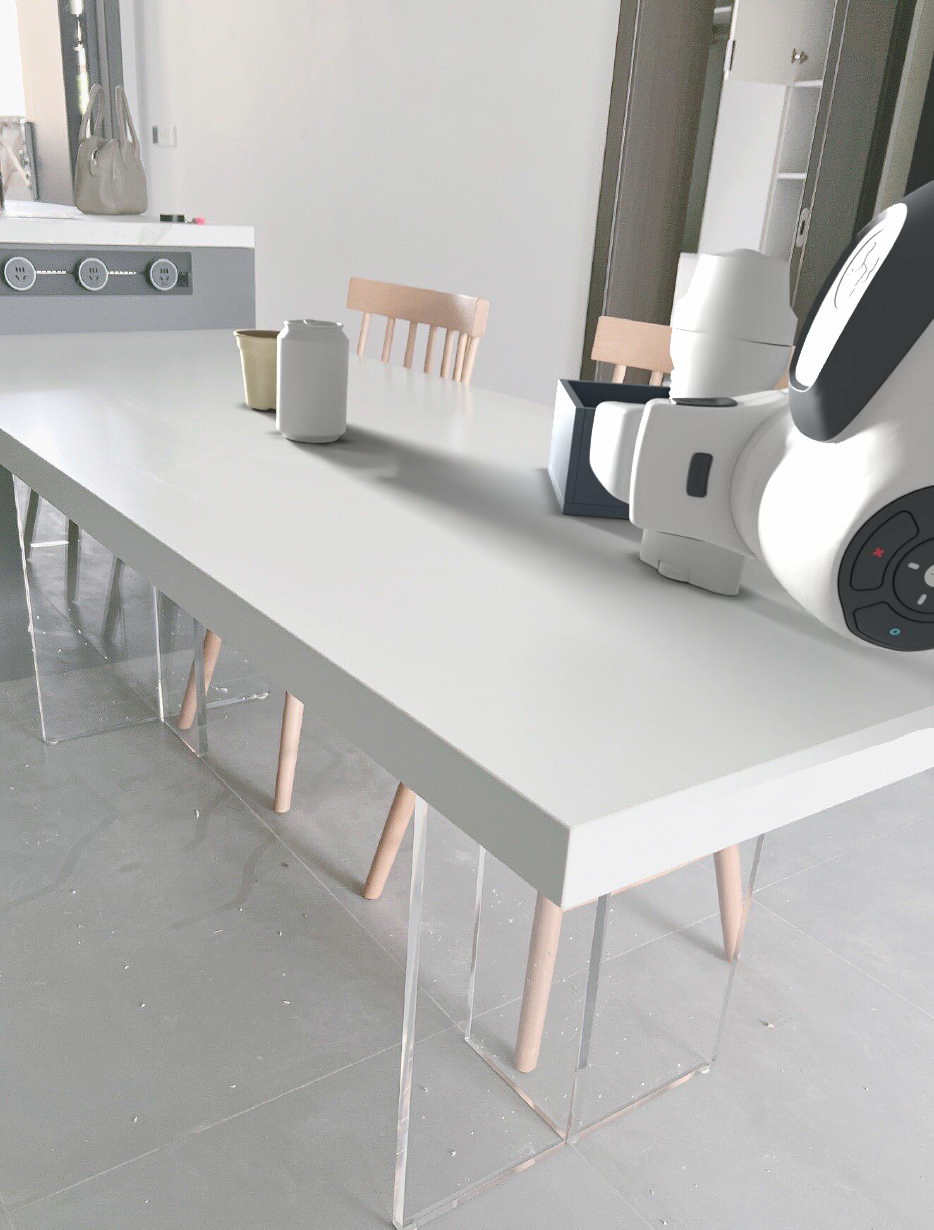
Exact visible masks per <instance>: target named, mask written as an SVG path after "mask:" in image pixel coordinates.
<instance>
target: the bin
mask: <svg viewBox="0 0 934 1230" xmlns="http://www.w3.org/2000/svg"><path fill="white" fill-rule="evenodd" d="M670 391H671V388H670V386H665V385H653V384H639V383H638V384H637V383H624V382H610V381H598V380H597V381H596V380H584V379H583V380H582V379H569V378H568V379H566V378H558V381H557V388H556V395H555V404H554V405H555V406H554V414H553V422H552V431H551V438H550V440H551V441H550V448H549V454H548V455H549V456H548V464H547V472H548V475H549V479H550V480H551V484H552V487H553V490H554V493H555V496H556V499H557V501H558V505H559V507H560V510H561V514H562V515H569V516H580V517H581V516H583V517H595V518H609V519H611V518H612V519H623V520H624V519H625V520H630V518H629V503H626V502H623V501H621V500H619V499H617V498H616V497H614V496H613V495H612V494H610V493H609V492H608V491H607V490H606V489H605V487H604V486H603V485H602V484H601V482H600V481H599V480H598V478H597V477H596V475H595V473H594V472H593V470H592V467H591V464H590V449H591V439H592V431H593V425H594V418H595V413H596V409H597V407H598V405H599V404H601V403H603V402H609V401H615V402H623V403H633V404H647V402H649V401H650V400H652V399H656V398H664V399H669V398H670V394H669V392H670Z"/></svg>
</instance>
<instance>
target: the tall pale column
mask: <svg viewBox="0 0 934 1230" xmlns="http://www.w3.org/2000/svg"><path fill="white" fill-rule="evenodd" d="M790 275H791V261H786V260H780V259H778V258H775V257H772V256H770V255H767V254H765V253H763V252H760V251H758V250H755V249H750V248H733V249H730V250H729V249H728V250H725V251H720V252H715V253H709V254H704V253H702V254H700V257H699V259H698V262H697V266H696V269H695V272H694V275H693V277H692V280H691V283H690V286H689V289H688V291H687V293H686V294H685V295H684V296H683V297H682V298H681V299H680V300H679V301H677V303H676V306H675V307H676V308H675V313H674V319H673V325H672V326H673V327H672V331H671V337H670V338H671V339H670V349H669V354H670V357H671V360H672V364H673V368H674V369H673V370H671V372H670V380H671V383H670V384H669V387H670V388H671V391H670V392H669V394H670V398H669V399H672V398H714V397H728V398H729V397H737V396H742V395H748V394H753V393H758V392H763V391H770V390H776V389H775V387H776V385H777V384H778V383H779V382H780V381H781V380H782V378H783V377H784V376H785V375H786V374H787V370H788V368H789V365H790V364H789V363H790V361H791V358H792V357H791V356H792V351H793V346H794V341H795V337H796V331H797V327H798V326H797V325H798V321H799V319H798V317H797V315H796V313H795V312H794V311H793V309H792V307H791V306H790V305H791V304H790V303H791V302H790V301H791V299H790V298H791V297H790V296H791V295H790V294H791V293H790V290H791V289H790V287H791V286H790V285H791V284H790V283H791V282H790V281H791V280H790V277H791V276H790ZM639 551H640V552H639V555H638V556H639V560H640V561H642V562H644V563H645V564H647V565H648V566H651V567H652V568H654V569H656V570H658V573H659V574H660V575H662V576H663V577H666V578H669V579H671V580H675V581H679V582H684V583H685V582H687V583H688V584H690V585H693V586H696V587H699V588H702V589H704V590H707V591H710V592H712V593H716V594H720V595H725V596H737V595H738V594H739V590H740V585H741V580H742V576H743V575H742V574H743V570H744V566H745V565H744V564H745V561H746V556H744V555H741V554H739V553H736V552H734V551H731V550H729V549H726V548H724V547H721V546H718V545H715V544H712V543H709V542H704V541H698V540H694V539H689V538H685V537H680V536H675V535H670V534H664V533H660V532H657V531H652V530H646V529H643V532H642V537H641V544H640V549H639Z"/></svg>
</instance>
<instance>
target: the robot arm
mask: <svg viewBox="0 0 934 1230" xmlns="http://www.w3.org/2000/svg"><path fill="white" fill-rule="evenodd" d="M791 356H792V357H791V358H790V362H789V363H790V364H789V366H788V374H787V375H788V380H787V381H788V382H787V385H788V387H785V388H782V389H775V390H770V391H763V392H758V393H753V394H748V395H742V396H737V397H729V398H728V397H714V398H672V399H664V398H656V399H652V400H650V401H649V402H647V404H633V403H623V402H615V401H609V402H603V403H601V404H599V405H598V407H597V409H596V413H595V418H594V425H593V431H592V439H591V449H590V464H591V467H592V470H593V472H594V473H595V475H596V477H597V478H598V480H599V481H600V482H601V484H602V485H603V486H604V487H605V489H606V490H607V491H608V492H609V493H610V494H612V495H613V496H614V497H616V498H617V499H619V500H621V501H623V502H626V503H629V518H630V519H629V521H630V522H631V523H632V525H633V526H635V527H637V528H639V529H642V530H644V529H646V530H652V531H657V532H660V533H664V534H670V535H675V536H680V537H685V538H689V539H694V540H698V541H704V542H709V543H712V544H715V545H718V546H721V547H724V548H726V549H729V550H731V551H734V552H736V553H739V554H741V555H744V556H745V557H747V558H750V559H752V560H759V561H760V562H761V563H762V564H764V565H765V566H767V568H768V569H769V571H770V573H771V574H772V575H773V577H774V578H775V579H776V581H777V583H779V584H780V586H781V587H782V588H783V589H784V590H785V591H786V592H787V593H788V595H790V596H791V597H792V599H794V600H795V601H796V602H797V603H798V604H799V605H800V606H801V607H802V608H804V609H805V610H806V611H807V612H808V613H809V614H810V615H812V616H813V617H814V618H815V619H817V620H818V621H819V622H820V623H822V624H823V625H824V626H825V627H827V628H829V629H830V630H831V631H834V632H835V633H837V634H838V635H839V636H841V637H843V638H846V639H848V640H850V641H852V642H854V643H855V644H859V645H861V646H864V647H867V648H868V647H869V648H872V649H876V650H881V651H887V652H894V653H895V652H896V653H920V652H928V651H934V179H933V180H930V181H929V182H927V183H924V185H921V186H920V187H919V188H917V189H915V190H914V191H912V192H910V193H908V194H907V195H905V196H903V197H902V198H901V199H898V201H896V202H895V203H893V204H892V205H890V206H889V207H887V208H886V209H884V210H883V211H881V212H880V213H878V214H877V215H876V216H875V217H874V218H873V219H871V220H870V221H869V222H868V223H867V224H866V225H865V226H864V227H863V228H862V229H861V230H860V231H859V232H858V233H857V234H856V235H855V236H854V238H853V239H852V240H851V241H850V242H849V244H848V245H847V246H846V247H845V248H844V250H843V251H842V253H841V254H840V255H839V257H838V258H837V260H836V262H835V263H834V265H833V267H832V268H831V270H830V272H829V273H828V274H827V277H826V279H825V280H824V282H823V284H822V285H821V287H820V289H819V290H818V292H817V294H816V296H815V298H814V300H813V302H812V304H811V306H810V308H809V311H808V313H807V315H806V317H805V320H804V323H803V325H802V327H801V329H800V333H799V336H798V338H797V341H796V344H795V347H794V350H793V353H792V355H791Z"/></svg>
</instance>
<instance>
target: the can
mask: <svg viewBox="0 0 934 1230" xmlns="http://www.w3.org/2000/svg"><path fill="white" fill-rule="evenodd" d="M283 324H284V328H283V329H282V330H281V331H282V332H281V333H280V334H279V335H278V352H277V410H276V429H277V430H278V431H279V432H280V433H281V434H282V435H283V437H284V438H285V439H287V440H289V441H290V440H291V441H295V442H300V443H311V444H312V443H315V444H323V443H324V444H325V443H332V442H336V441H338V440H339V438H340V437H341V436H343V435H344V434H345V433H346V431H347V411H348V410H347V409H348V383H349V357H350V339H349V337H348V336H347V335H346V333H344V331H343V328H344V327H345V325H344V324H343V323H342V322H341V323H340V322H336V321H331V320H320V319H313V318H305V319H287V320H285V321H283Z"/></svg>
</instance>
